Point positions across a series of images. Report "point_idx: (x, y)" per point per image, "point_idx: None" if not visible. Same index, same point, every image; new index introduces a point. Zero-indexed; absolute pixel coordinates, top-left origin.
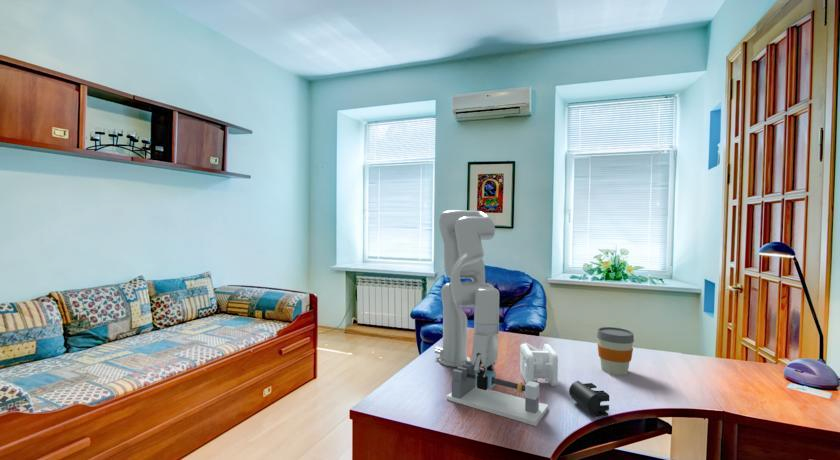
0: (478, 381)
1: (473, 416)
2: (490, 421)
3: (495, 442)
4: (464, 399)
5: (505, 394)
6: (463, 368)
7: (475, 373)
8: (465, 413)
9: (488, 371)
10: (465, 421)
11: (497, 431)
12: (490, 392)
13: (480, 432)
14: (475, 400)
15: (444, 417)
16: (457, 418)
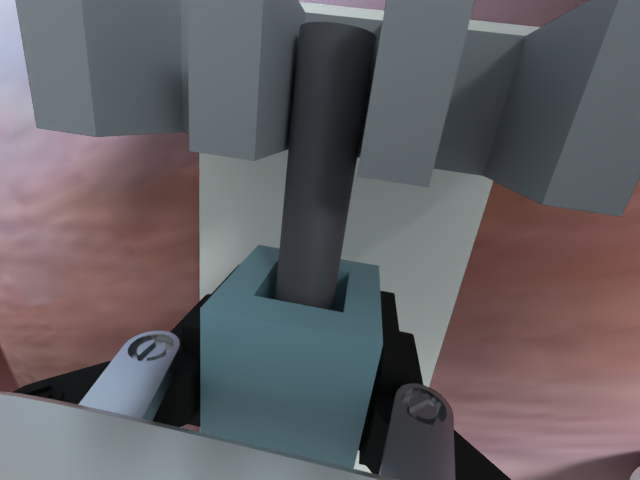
0: (188, 313)
1: (124, 248)
2: (133, 329)
3: (13, 368)
4: (218, 156)
5: (421, 374)
6: (214, 95)
7: (206, 301)
8: (125, 201)
9: (323, 436)
10: (57, 226)
11: (82, 364)
12: (413, 289)
13: (29, 309)
14: (244, 229)
15: (12, 106)
16: (53, 179)
